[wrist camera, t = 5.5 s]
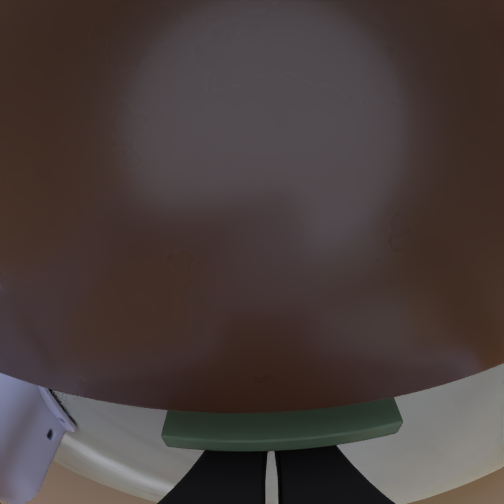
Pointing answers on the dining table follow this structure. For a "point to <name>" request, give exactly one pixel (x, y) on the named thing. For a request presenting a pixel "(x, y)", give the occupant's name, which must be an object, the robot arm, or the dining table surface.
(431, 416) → the dining table surface
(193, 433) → the chair
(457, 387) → the dining table surface
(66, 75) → the desk
